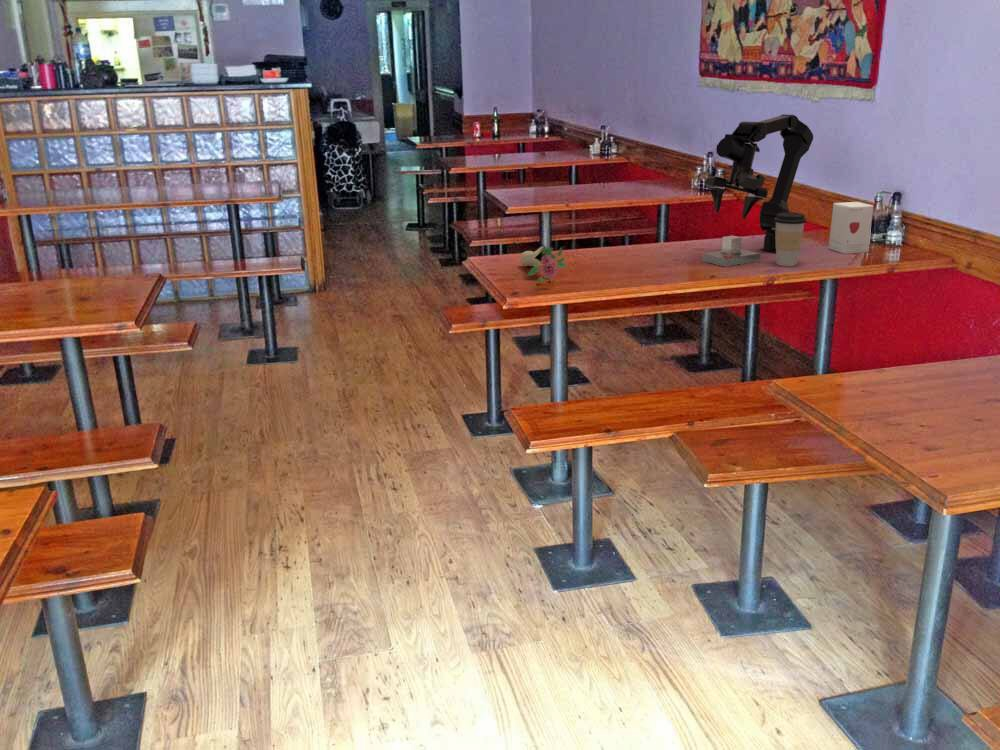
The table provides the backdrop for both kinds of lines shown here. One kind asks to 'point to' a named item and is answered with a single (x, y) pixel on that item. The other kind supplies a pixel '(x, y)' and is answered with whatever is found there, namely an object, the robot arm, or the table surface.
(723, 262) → the sleeve block
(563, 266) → the flower vase
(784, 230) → the coffee cup
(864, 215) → the supplement box
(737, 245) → the post
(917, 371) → the table surface
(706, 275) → the table surface
